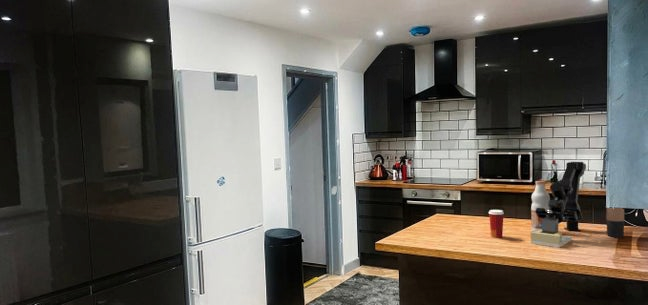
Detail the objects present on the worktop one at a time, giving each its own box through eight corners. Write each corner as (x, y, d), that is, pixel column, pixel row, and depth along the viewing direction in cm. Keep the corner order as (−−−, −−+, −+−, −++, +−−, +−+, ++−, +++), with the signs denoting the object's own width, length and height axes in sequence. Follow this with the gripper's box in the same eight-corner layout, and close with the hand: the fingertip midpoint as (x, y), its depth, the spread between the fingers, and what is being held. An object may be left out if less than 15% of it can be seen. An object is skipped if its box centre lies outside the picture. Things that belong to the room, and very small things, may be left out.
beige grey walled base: (545, 236, 231) (544, 225, 231) (572, 239, 222) (571, 229, 222) (530, 243, 218) (530, 232, 218) (559, 247, 209) (559, 236, 208)
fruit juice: (539, 228, 248) (539, 179, 247) (554, 232, 239) (553, 181, 238) (527, 230, 244) (527, 181, 243) (542, 234, 236) (541, 182, 235)
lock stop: (545, 236, 222) (545, 217, 222) (558, 238, 218) (558, 218, 218) (542, 238, 219) (541, 219, 219) (555, 240, 215) (554, 220, 214)
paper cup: (504, 235, 236) (504, 209, 235) (504, 238, 229) (503, 212, 228) (489, 234, 239) (488, 209, 238) (488, 237, 232) (487, 211, 231)
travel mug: (627, 238, 221) (627, 199, 220) (610, 238, 223) (610, 199, 222) (620, 234, 229) (620, 196, 228) (604, 234, 230) (603, 197, 229)
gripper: (536, 192, 230) (528, 216, 223) (575, 195, 217) (568, 220, 209) (542, 205, 236) (534, 228, 229) (580, 208, 223) (574, 233, 215)
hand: (552, 227), depth 220 cm, fingers closed, pressing on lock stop
